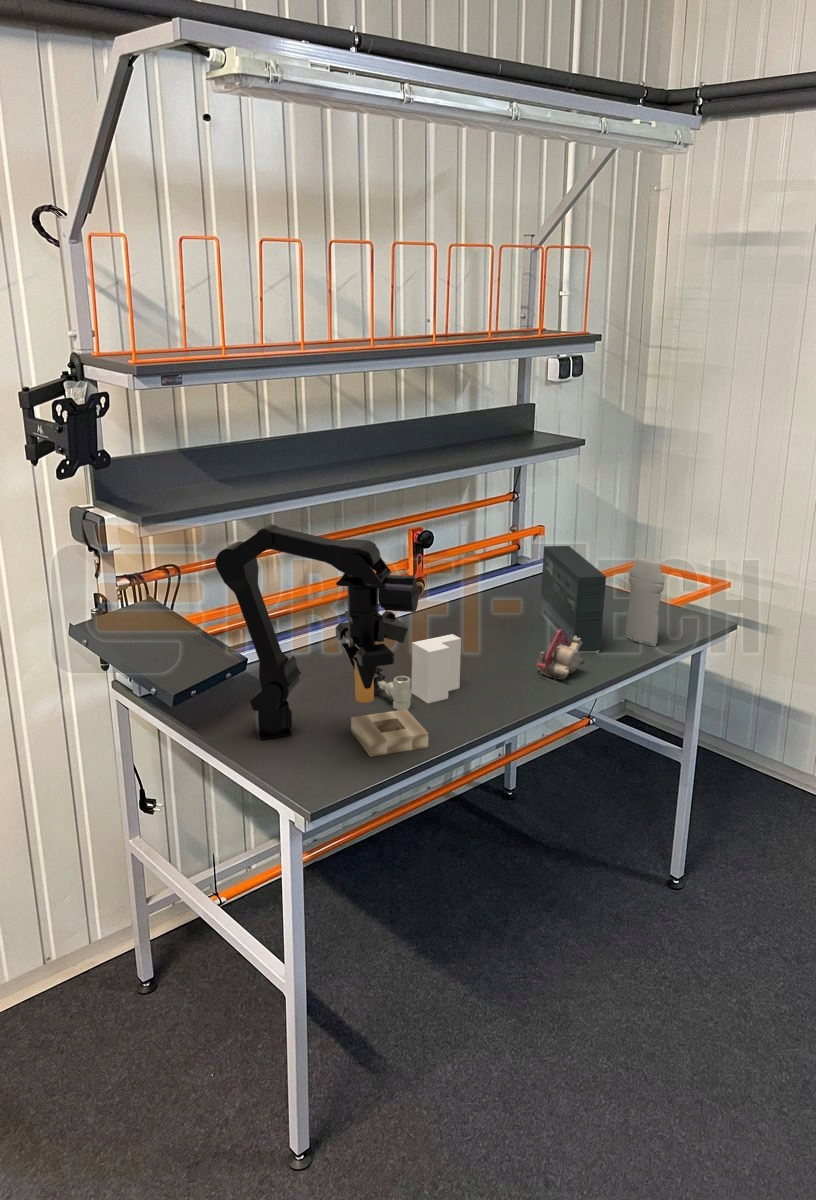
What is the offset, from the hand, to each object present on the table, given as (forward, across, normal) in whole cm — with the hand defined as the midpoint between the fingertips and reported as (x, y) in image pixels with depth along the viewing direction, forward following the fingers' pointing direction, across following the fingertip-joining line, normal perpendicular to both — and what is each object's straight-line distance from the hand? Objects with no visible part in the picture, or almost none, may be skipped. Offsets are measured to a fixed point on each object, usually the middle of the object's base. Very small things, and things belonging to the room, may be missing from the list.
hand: (364, 684), depth 186 cm
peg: (+3, 0, 0) cm, 3 cm away
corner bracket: (+13, +20, -22) cm, 33 cm away
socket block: (+12, 0, -5) cm, 13 cm away
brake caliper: (+13, +20, -54) cm, 59 cm away
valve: (+13, +18, -11) cm, 24 cm away
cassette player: (+13, +44, -69) cm, 83 cm away
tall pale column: (+14, +33, -84) cm, 91 cm away
